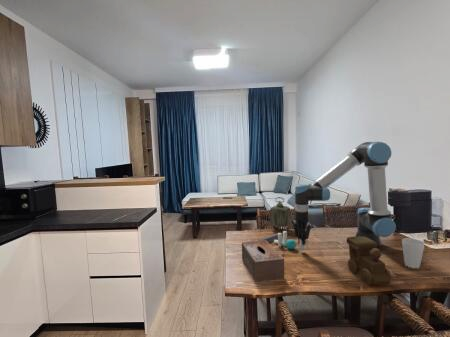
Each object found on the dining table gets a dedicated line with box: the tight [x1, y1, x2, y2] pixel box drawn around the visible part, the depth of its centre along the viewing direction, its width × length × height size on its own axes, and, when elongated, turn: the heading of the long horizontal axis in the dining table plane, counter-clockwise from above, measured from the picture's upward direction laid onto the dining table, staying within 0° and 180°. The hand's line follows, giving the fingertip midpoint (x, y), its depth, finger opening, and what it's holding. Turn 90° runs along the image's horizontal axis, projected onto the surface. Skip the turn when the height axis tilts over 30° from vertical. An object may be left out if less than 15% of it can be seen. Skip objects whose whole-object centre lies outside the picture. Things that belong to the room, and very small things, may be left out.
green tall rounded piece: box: [268, 196, 292, 231], centre depth 196 cm, size 14×9×25 cm, turn 58°
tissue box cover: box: [241, 240, 285, 282], centre depth 136 cm, size 26×14×10 cm, turn 11°
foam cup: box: [401, 237, 425, 269], centre depth 134 cm, size 10×9×13 cm
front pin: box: [273, 239, 287, 248], centre depth 167 cm, size 2×2×8 cm
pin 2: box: [282, 230, 288, 243], centre depth 167 cm, size 2×2×8 cm
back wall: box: [257, 232, 279, 243], centre depth 174 cm, size 2×20×3 cm, turn 129°
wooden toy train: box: [346, 236, 392, 286], centre depth 123 cm, size 20×11×17 cm, turn 6°
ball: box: [286, 239, 297, 250], centre depth 159 cm, size 6×6×6 cm
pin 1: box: [277, 232, 283, 248], centre depth 164 cm, size 2×2×8 cm
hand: (301, 249), depth 154 cm, fingers closed
